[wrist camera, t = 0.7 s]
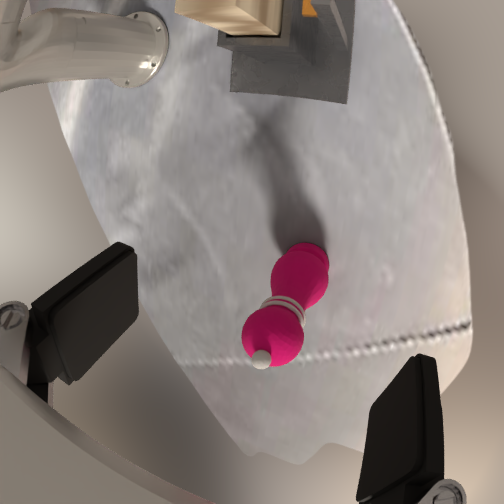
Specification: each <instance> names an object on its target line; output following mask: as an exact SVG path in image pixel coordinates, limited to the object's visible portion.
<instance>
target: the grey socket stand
mask: <svg viewBox="0 0 504 504" xmlns="http://www.w3.org/2000/svg"><path fill="white" fill-rule="evenodd" d="M354 18H355V0H284V6H283V18H282V30H281V38H237V37H235V36H233V35H230V34H228V33H226V32H224V31H221V30H219V31H218V42H217V46H219V47H222V48H225V49H228V50H231V51H233V59H232V72H231V85H230V92H244V93H259V94H271V95H282V96H291V97H300V98H308V99H315V100H322V101H329V102H335V103H341V104H347V99H348V90H349V80H350V70H351V59H352V47H353V34H354Z"/></svg>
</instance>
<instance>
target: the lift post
mask: <svg viewBox="0 0 504 504" xmlns="http://www.w3.org/2000/svg"><path fill="white" fill-rule="evenodd" d="M283 6H284V0H176V4H175V13H177V14H180V15H183V16H186V17H189V18H191V19H194V20H197V21H199V22H202V23H204V24H207V25H209V26H212V27H214V28H217V29H219V30H221V31H224V32H226V33H228V34H230V35H233V36H235V37H237V38H281V30H282V18H283Z"/></svg>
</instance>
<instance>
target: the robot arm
mask: <svg viewBox="0 0 504 504" xmlns="http://www.w3.org/2000/svg"><path fill="white" fill-rule="evenodd" d="M26 2H27V0H0V93H1V92H4V91H7V90H10V89H13V88H18V87H22V86H27V85H33V84H40V83H49V82H59V81H71V80H85V79H110V80H111V81H112V82H113V83H114V84H116V85H117V86H120V87H123V88H134V87H138V86H141V85H143V84H145V83H147V82H148V81H149V80H150V79H152V78H153V77H154V76H155V75H156V73H157V72H158V71H159V69H160V68H161V66H162V64H163V62H164V60H165V58H166V54H167V51H168V44H169V40H168V32H167V28H166V26H165V24H164V22H163V21H162V20H161V19H160V18H159V17H158V16H156V15H155V14H152V13H149V12H135V13H132V14H129V15H127V16H126V17H121V16H116V15H111V14H105V13H98V12H91V11H84V10H76V9H66V8H49V9H45V10H42V11H39V12H36V13H34V14H32V15H30V16H29V17H27V18H25V19H24V20H22V21H21V22H20V19H21V16H22V13H23V10H24V7H25V5H26ZM31 305H32V308H31V309H30V310H28V308H27V306H26V305H25V304H24V303H21V302H19V301H9V302H6V303H3V304H1V305H0V504H216V503H213V502H210V501H208V500H205V499H203V498H201V497H199V496H196V495H194V494H192V493H190V492H187V491H185V490H183V489H181V488H179V487H177V486H174V485H172V484H170V483H168V482H166V481H164V480H162V479H160V478H158V477H157V476H154V475H153V474H151V473H149V472H147V471H145V470H143V469H142V468H140V467H138V466H136V465H135V464H133V463H131V462H130V461H128V460H126V459H124V458H123V457H121V456H120V455H118V454H116V453H115V452H113V451H111V450H110V449H108V448H107V447H105V446H104V445H102V444H101V443H99V442H98V441H96V440H95V439H93V438H92V437H90V436H89V435H87V434H86V433H85V432H83V431H82V430H80V429H79V428H78V427H76V426H75V425H74V424H72V423H71V422H70V421H68V420H67V419H66V418H64V417H63V416H62V415H60V414H59V413H58V412H57V411H56V410H54V409H53V382H54V380H55V379H56V378H57V377H59V378H60V379H61V380H62V381H64V382H65V383H66V384H68V385H70V384H71V383H72V382H73V381H74V380H75V381H77V380H79V379H80V378H81V377H82V376H83V375H84V374H85V373H86V372H87V371H88V370H89V369H90V368H91V367H92V365H93V364H94V363H95V362H96V361H97V360H98V359H99V358H100V357H101V356H102V355H103V354H104V353H105V352H106V351H107V350H108V349H109V348H110V346H111V345H112V344H113V343H114V342H115V341H116V340H117V339H118V338H119V337H120V336H121V335H122V334H123V333H124V332H125V331H126V330H127V329H128V328H129V327H130V326H131V325H132V324H133V322H135V320H136V319H137V316H138V313H139V307H138V279H137V255H136V253H135V252H134V249H133V248H132V247H131V246H128V245H126V244H124V243H121V242H116V243H114V244H113V245H111V246H110V247H109V248H107V249H105V250H104V251H103V252H101V253H100V254H98V255H97V256H95V257H94V258H92V259H91V260H90V261H88V262H87V263H85V264H84V265H82V266H81V267H80V268H78V269H77V270H75V271H74V272H73V273H71V274H70V275H69V276H67V277H66V278H64V279H63V280H62V281H60V282H59V283H58V284H56V285H55V286H53V287H52V288H51V289H49V290H48V291H47V292H45V293H44V294H43V295H41V296H40V297H39V298H38V299H36V300H35V301H34V302H32V303H31ZM443 433H444V432H443V415H442V407H441V400H440V390H439V381H438V372H437V365H436V360H435V358H433V357H430V356H426V355H423V354H417V355H416V356H415V357H414V356H412V357H410V358H409V360H408V361H407V362H406V364H405V365H404V366H403V367H402V369H401V370H400V371H399V373H398V374H397V375H396V376H395V378H394V379H393V380H392V382H391V383H390V384H389V385H388V386H387V388H386V389H385V390H384V391H383V392H382V394H381V395H380V396H379V397H378V398H377V400H376V401H375V402H374V403H373V405H372V406H371V409H370V412H369V420H368V428H367V435H366V442H365V449H364V456H363V462H362V468H361V473H360V479H359V484H358V489H357V494H356V501H358V502H359V504H466V494H465V491H464V489H463V487H462V486H461V484H459V483H458V482H457V481H455V480H452V479H444V434H443Z"/></svg>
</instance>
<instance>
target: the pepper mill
mask: <svg viewBox="0 0 504 504" xmlns="http://www.w3.org/2000/svg"><path fill="white" fill-rule="evenodd" d="M328 270H329V261H328V257H327V255H326V254H325V252H324V251H323V250H322V249H321V248H320V247H318V246H316V245H314V244H311V243H299V244H296V245H294V246H292V247H291V248H290V249H289V250H288V251H287V253H286V254H285V255H283V256H282V257H281V258H279V259H278V261H277V262H276V264H275V265H274V268H273V270H272V273H271V290H272V297H270V298H268V299H266V300H265V301H264V302H263V303H262V305H261V307H260V308H259V310H257V311H255V312H254V313H253V314H251V315H250V316H249V317H248V319H247V320H246V322H245V324H244V326H243V330H242V344H243V347H244V349H245V351H246V352H247V354H248V355H249V356H250V357H251V358H252V359H251V360H252V364H253V366H254V367H256V368H258V369H265V368H267V367H268V366H281V365H284V364H287V363H288V362H290V361H292V360H293V359H294V358H295V357H296V356H297V355H298V353H299V352H300V350H301V348H302V345H303V341H304V333H303V328H304V325H305V322H306V315H305V310H306V309H307V308H309V307H311V306H312V305H314V304H315V303H316V302H318V301H319V300H320V299H321V298H322V296H323V295H324V293H325V291H326V289H327V286H328Z"/></svg>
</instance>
